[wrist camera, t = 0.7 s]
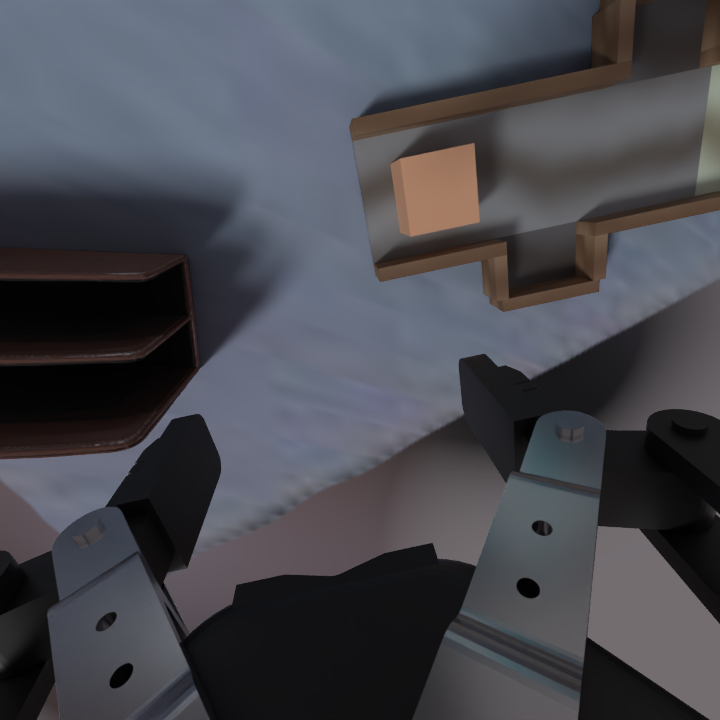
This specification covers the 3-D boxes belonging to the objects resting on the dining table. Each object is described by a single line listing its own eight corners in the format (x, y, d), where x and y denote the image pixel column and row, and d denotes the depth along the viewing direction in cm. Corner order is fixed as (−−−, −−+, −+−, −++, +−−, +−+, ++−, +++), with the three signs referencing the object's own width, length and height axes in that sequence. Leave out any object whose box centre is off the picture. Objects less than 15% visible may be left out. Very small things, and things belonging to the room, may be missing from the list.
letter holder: (202, 368, 34) (128, 469, 21) (-42, 365, 33) (-286, 474, 20) (190, 253, 31) (91, 290, 18) (-87, 242, 29) (-425, 274, 16)
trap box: (336, 51, 27) (337, 35, 24) (798, -45, 27) (849, -72, 24) (384, 325, 34) (389, 335, 32) (743, 249, 34) (777, 253, 32)
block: (390, 164, 29) (399, 158, 25) (455, 150, 29) (474, 142, 25) (400, 232, 31) (410, 236, 27) (461, 219, 31) (479, 222, 27)
